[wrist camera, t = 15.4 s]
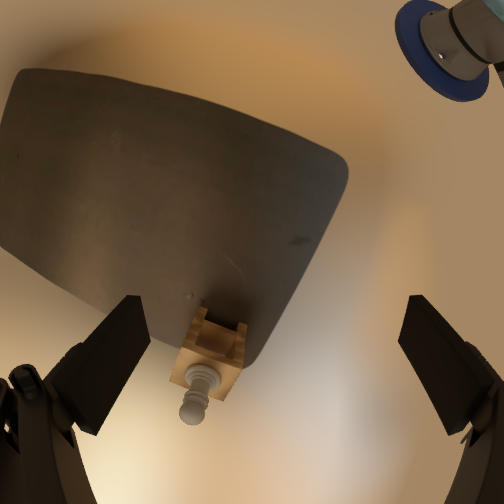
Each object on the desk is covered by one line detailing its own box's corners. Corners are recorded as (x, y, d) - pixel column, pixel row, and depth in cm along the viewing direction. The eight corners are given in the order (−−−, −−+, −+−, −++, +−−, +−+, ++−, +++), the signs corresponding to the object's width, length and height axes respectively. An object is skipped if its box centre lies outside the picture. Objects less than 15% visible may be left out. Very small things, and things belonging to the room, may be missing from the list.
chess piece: (182, 381, 38) (166, 425, 29) (190, 358, 36) (173, 404, 27) (215, 392, 38) (205, 438, 29) (226, 371, 36) (217, 419, 28)
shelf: (247, 324, 48) (242, 369, 36) (231, 355, 50) (223, 401, 39) (199, 305, 47) (181, 346, 35) (186, 338, 49) (169, 381, 38)
